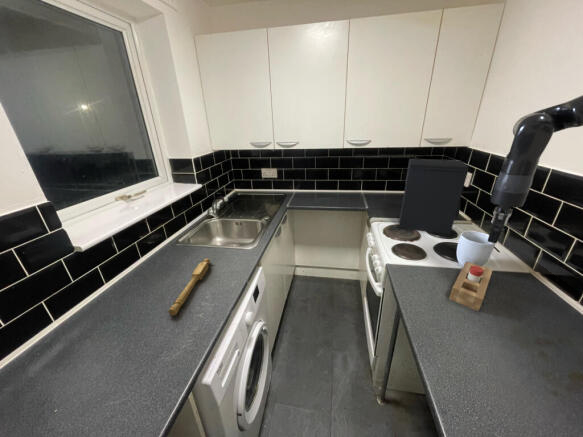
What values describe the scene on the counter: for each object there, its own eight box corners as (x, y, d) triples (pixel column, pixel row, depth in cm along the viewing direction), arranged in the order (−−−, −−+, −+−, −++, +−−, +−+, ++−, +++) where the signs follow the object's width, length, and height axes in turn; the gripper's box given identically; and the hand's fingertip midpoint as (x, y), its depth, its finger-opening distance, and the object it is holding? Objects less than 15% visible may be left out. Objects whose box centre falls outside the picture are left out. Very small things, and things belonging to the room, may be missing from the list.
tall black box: (452, 221, 132) (470, 159, 118) (459, 236, 116) (480, 167, 102) (399, 214, 143) (409, 157, 129) (399, 228, 127) (410, 164, 112)
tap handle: (166, 309, 75) (203, 257, 102) (169, 316, 76) (205, 262, 103) (175, 309, 74) (210, 257, 102) (177, 316, 76) (211, 262, 103)
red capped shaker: (476, 289, 82) (484, 268, 78) (474, 294, 80) (482, 273, 76) (465, 284, 84) (472, 264, 80) (462, 289, 82) (470, 269, 78)
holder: (488, 280, 86) (492, 269, 84) (478, 311, 73) (483, 299, 71) (462, 271, 91) (466, 261, 89) (448, 298, 78) (452, 287, 76)
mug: (464, 251, 104) (473, 225, 98) (494, 263, 95) (505, 235, 90) (447, 262, 96) (455, 235, 91) (477, 276, 88) (488, 247, 83)
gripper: (527, 197, 60) (507, 250, 66) (530, 184, 69) (511, 232, 75) (491, 192, 65) (475, 241, 71) (497, 181, 74) (482, 226, 80)
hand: (493, 237), depth 73 cm, fingers open, 8 cm apart
